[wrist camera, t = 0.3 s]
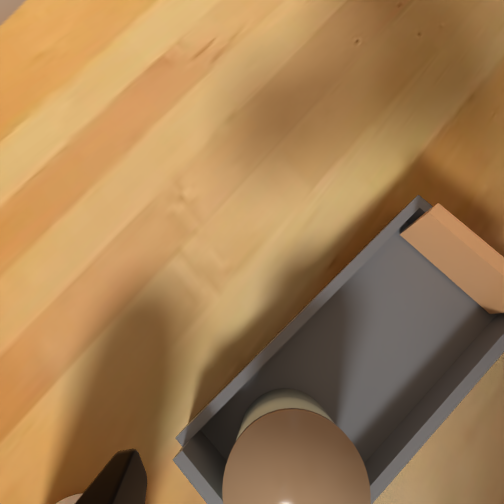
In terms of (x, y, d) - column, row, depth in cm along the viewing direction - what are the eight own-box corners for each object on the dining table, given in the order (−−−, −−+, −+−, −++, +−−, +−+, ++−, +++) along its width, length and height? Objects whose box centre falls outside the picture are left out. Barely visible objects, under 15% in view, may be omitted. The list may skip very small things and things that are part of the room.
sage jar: (356, 441, 20) (402, 495, 13) (286, 518, 19) (296, 618, 13) (286, 365, 21) (294, 380, 14) (217, 436, 20) (192, 486, 14)
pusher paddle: (498, 305, 21) (552, 297, 17) (489, 314, 21) (542, 308, 17) (407, 226, 23) (438, 202, 19) (399, 234, 23) (428, 212, 19)
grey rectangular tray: (510, 306, 22) (578, 298, 17) (292, 552, 20) (301, 623, 15) (400, 211, 24) (433, 180, 19) (187, 423, 21) (164, 449, 17)
